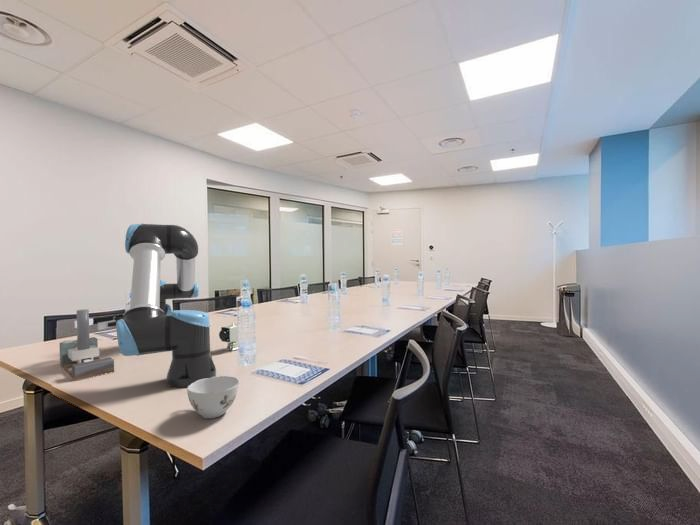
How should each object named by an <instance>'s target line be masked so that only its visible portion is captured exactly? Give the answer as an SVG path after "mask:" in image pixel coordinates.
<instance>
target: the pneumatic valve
mask: <svg viewBox="0 0 700 525" xmlns="http://www.w3.org/2000/svg"><path fill="white" fill-rule="evenodd" d="M238 324H239V323H234V322H232V323H231V324H230V325H226V326H221V328H220V331H219V333H218V336H219V339H220V340H221V342H225V343H227V346H226V350H227V351H231V352H235V351H237V349H238V342H239V340H238ZM238 350H239V349H238Z"/></svg>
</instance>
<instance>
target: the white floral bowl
mask: <svg viewBox="0 0 700 525" xmlns="http://www.w3.org/2000/svg"><path fill="white" fill-rule="evenodd" d="M239 384H240V380H239V379H238V377H235V376H228V375H220V376H218V375H216V377H212V378H209V379H208V378H205V379H201V380H198V381H196V382H194V383H192V384H191V385H189V386H188V387H187V388H186V391H187V397H188V400H189V401H188V402H189V403H190V406H192V408H193V410H194V411H195V412H196V413H198V414H199V415H200V416H201V417H202V418H204V419H215V418H219V417H221V416H222V415H225V414H226V412H227V411H228V409H229V408H230V407H231V406H232V405H233V403H234V401H235V399H236V397H237V393H238V391H239V390H238V389H239Z"/></svg>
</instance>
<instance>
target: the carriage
mask: <svg viewBox="0 0 700 525" xmlns="http://www.w3.org/2000/svg"><path fill="white" fill-rule="evenodd" d="M89 313H90V310H89V308H88V309H86V308H85V309H77V310H76V321H77V328H76V338H77V339H76V340H77V347H78V348H73V349H68V357H69V358H70V359H71V360H72V361H76V362H77V363H78V364H79V363H81V359H86V358H89V359H90V360H92V361H93V357H96V356H98V357H100V347H96V346H95V345H91V346H90V345H89V338H90V326H89V319H90V314H89Z"/></svg>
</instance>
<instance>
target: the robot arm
mask: <svg viewBox="0 0 700 525" xmlns="http://www.w3.org/2000/svg"><path fill="white" fill-rule="evenodd" d="M124 248H125V252H126V253H127V254H128V255H129V256H130V257H131V258H132V260H133V266H132V267H133V268H132V275H131V276H132V277H131V289H130V301H129V309H127V310H126V311H125V312H124V313H119V314H112V315H103V316H95V317H93V316H92V317H89V327H94V325H97V331H101V330H106V329H110V328H115V331H116V339H117V345H118V349H119V352H120V354H121V355H122V356H123V357H132V356H133V357H134V356H137V357H139V356H143V355H150V354H157V353H164V352H165V353H166V352H171V353H172V355H171V356H172V357H171V361H170V362H171V363H170V364H169V368H168V372H167V373H166V384H167V386H169V387H175V388H185V387H188V386H189V385H191V384H192V383H194V382H196V381H198V380H201V379H205V378H208V379H209V378H212V377H216V376H217V369H216V365H215V364H214V361H213V358H212V357H213V356H212V355H211V337H210V336H211V335H210V334H211V333H210V332H211V330H210V327H211V324H210V323H211V322H210V316H209V314H208V313H207V312H206V311H202V310H193V309H180V310H179V309H177V310H176V309H175V310H172V308H171V306H170V304H168V303H167V302H166V300H175V299H176V300H178V299H179V300H180V299H193V298H198V297H199V292H200V291H199V288H200V287H199V283H198V282H195V280H196V279H195V278H196V258H197V256H198V255H199V244H198V241H197V240H196V238H195V237H194V235H193V234H192V233H191V232H190V231H189V230H187V229H186V228H185V227H182V226H180V225H177V224H153V223H151V224H150V223H132V224H130V225H129V226H128V227H127V230H126V233H125V240H124ZM167 254H170V255H171V254H173V255H174V257H175V258H176V259H175V260H176V262H175V263H176V280H177V281H176V283H166V281H165V279H161V265H162V264H161V261H162V260H163V259H164V258H165V257H166V255H167ZM73 322H74V323H73V324H74V329H77V320H74V321H73Z"/></svg>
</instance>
